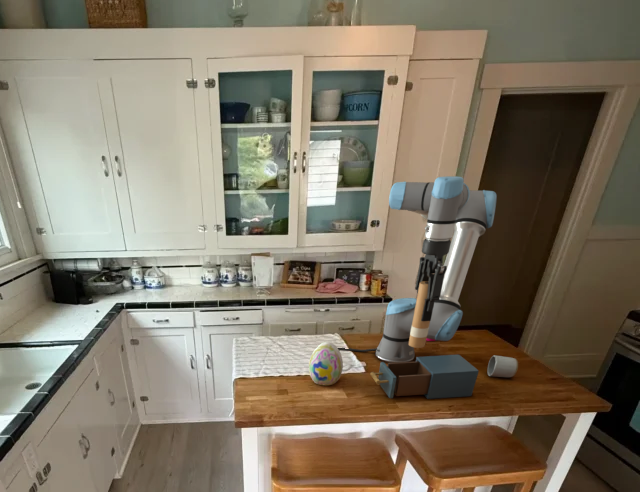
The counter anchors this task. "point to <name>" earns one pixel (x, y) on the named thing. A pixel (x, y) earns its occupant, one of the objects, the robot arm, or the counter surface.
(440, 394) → the cabinet
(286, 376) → the counter surface
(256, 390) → the counter surface
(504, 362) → the ceramic mug
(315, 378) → the decorative egg
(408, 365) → the drawer
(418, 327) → the paper roll
